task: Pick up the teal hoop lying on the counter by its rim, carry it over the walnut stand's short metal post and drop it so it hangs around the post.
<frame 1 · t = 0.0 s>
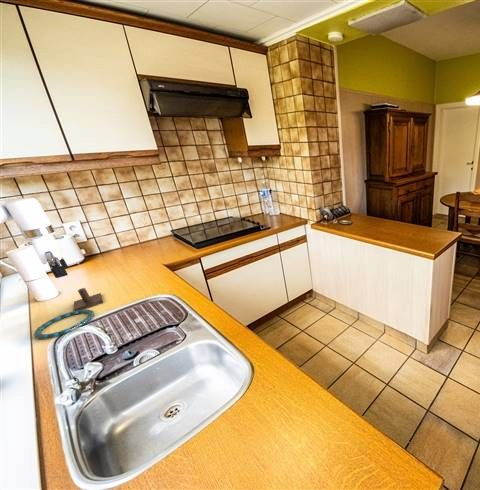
hand: (62, 272, 104), 21 cm above the worktop, tool pointing down, fingers open, 9 cm apart
ring: (65, 323, 107), point 1 cm above the worktop
cylindrical container: (47, 297, 128), on the worktop
stand: (89, 303, 121), on the worktop
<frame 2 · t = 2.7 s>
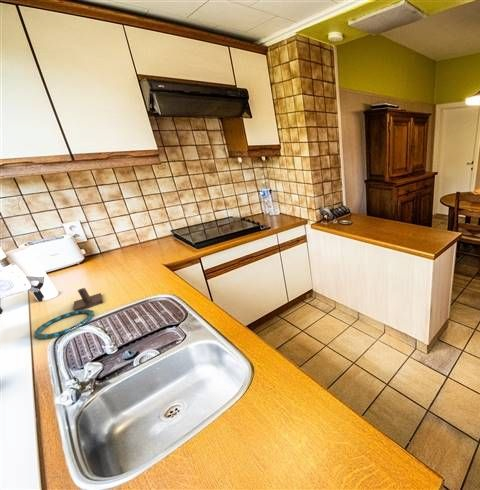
hand: (21, 306, 97), 13 cm above the worktop, tool pointing down, fingers open, 9 cm apart
nothing on the worktop moved.
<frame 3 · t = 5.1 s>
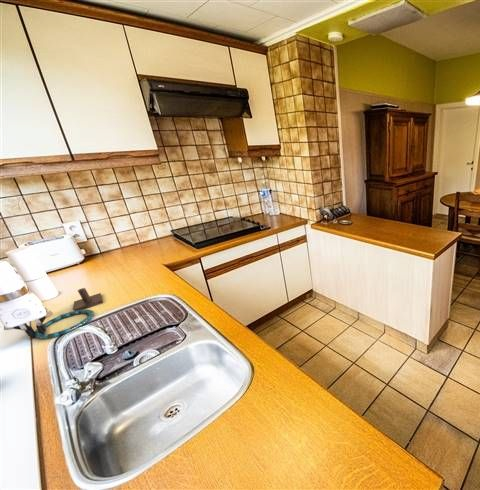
hand: (38, 334, 102), 0 cm above the worktop, tool pointing down, fingers closed on ring, 1 cm apart
ring: (65, 323, 107), point 1 cm above the worktop, touching gripper
everything else where it was.
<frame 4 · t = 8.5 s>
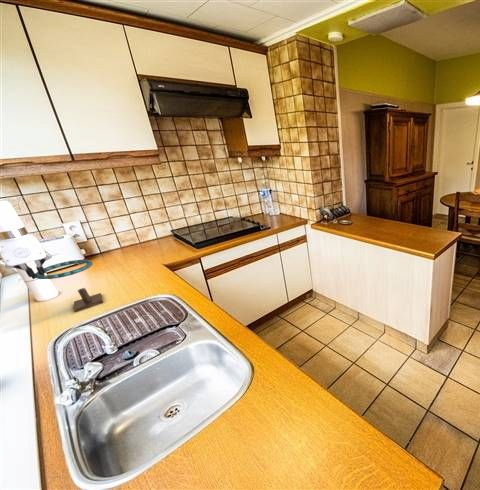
hand: (38, 276, 106), 19 cm above the worktop, tool pointing down, fingers closed on ring, 1 cm apart
ring: (65, 268, 111), point 19 cm above the worktop, touching gripper
everything else where it was.
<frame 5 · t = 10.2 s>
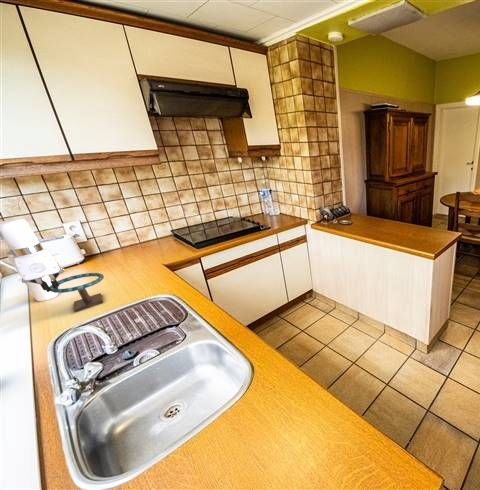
hand: (52, 289, 111), 11 cm above the worktop, tool pointing down, fingers closed on ring, 1 cm apart
ring: (77, 282, 116), point 11 cm above the worktop, touching gripper
everything else where it was.
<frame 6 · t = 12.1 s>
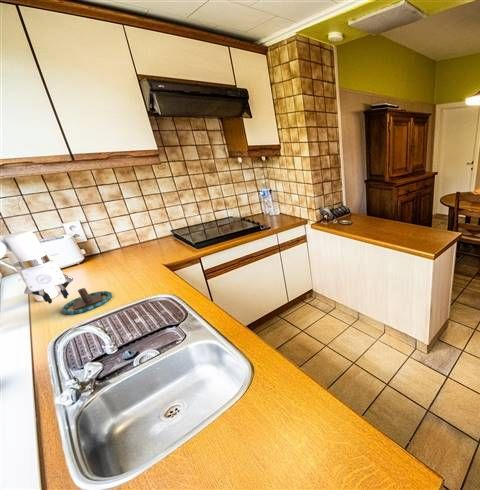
hand: (58, 299, 113), 6 cm above the worktop, tool pointing down, fingers open, 4 cm apart
ring: (87, 302, 120), point 1 cm above the worktop
everything else where it was.
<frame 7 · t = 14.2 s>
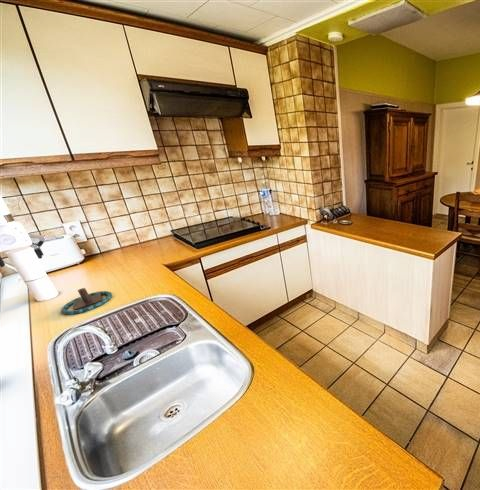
hand: (22, 261, 105), 25 cm above the worktop, tool pointing down, fingers open, 9 cm apart
nothing on the worktop moved.
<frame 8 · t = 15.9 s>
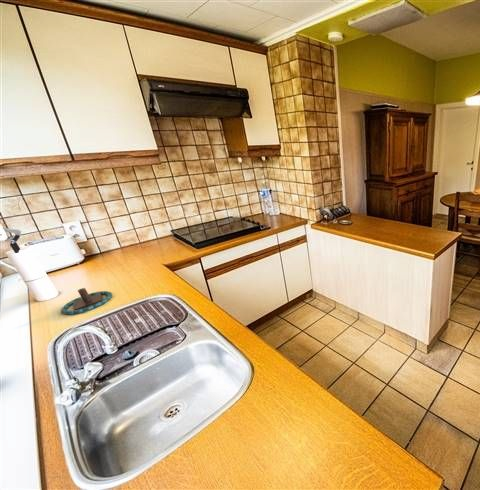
nothing on the worktop moved.
at the end: ring 0.3 cm from the stand (horizontally); ring point 0.8 cm above the worktop; the gripper is holding nothing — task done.
